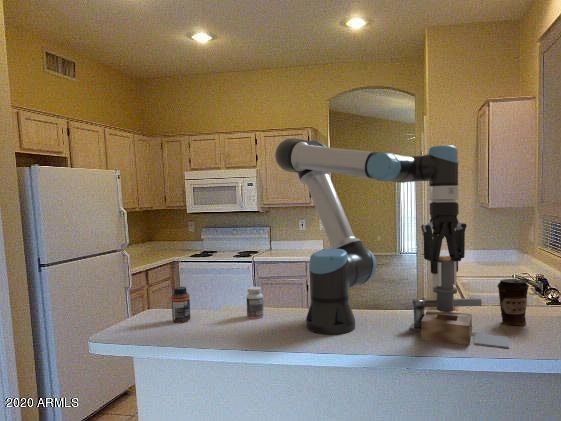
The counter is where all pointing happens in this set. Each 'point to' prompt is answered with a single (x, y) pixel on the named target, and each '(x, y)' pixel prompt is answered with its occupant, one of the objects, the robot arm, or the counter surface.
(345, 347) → the counter surface
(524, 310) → the coffee cup
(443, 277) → the plug
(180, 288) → the supplement bottle
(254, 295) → the pill bottle
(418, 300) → the grey long bar
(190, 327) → the counter surface
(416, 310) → the post
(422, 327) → the socket
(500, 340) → the mat
